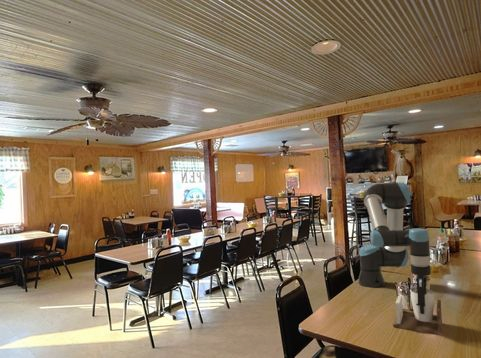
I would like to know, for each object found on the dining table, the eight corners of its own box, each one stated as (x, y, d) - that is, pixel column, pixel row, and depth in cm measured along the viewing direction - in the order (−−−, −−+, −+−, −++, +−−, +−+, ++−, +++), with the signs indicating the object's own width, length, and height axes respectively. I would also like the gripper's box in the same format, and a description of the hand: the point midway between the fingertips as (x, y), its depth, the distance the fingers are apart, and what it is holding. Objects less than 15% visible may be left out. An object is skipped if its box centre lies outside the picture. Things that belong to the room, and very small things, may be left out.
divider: (396, 323, 143) (395, 302, 143) (399, 314, 151) (398, 295, 152) (400, 324, 142) (399, 303, 142) (403, 315, 151) (402, 295, 151)
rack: (393, 326, 143) (391, 303, 143) (397, 315, 154) (396, 294, 154) (441, 335, 133) (440, 310, 133) (442, 323, 144) (440, 299, 144)
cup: (414, 313, 148) (412, 286, 148) (437, 317, 142) (435, 289, 142) (409, 320, 141) (408, 292, 141) (433, 324, 135) (432, 295, 135)
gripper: (429, 271, 131) (432, 328, 131) (431, 259, 149) (434, 309, 149) (408, 270, 135) (411, 324, 135) (413, 258, 153) (415, 306, 153)
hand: (423, 316), depth 142 cm, fingers closed on cup, 8 cm apart
